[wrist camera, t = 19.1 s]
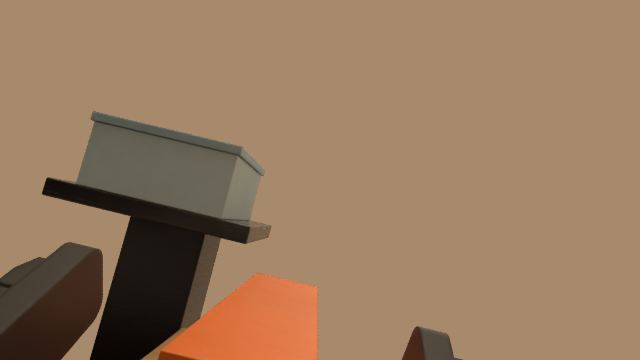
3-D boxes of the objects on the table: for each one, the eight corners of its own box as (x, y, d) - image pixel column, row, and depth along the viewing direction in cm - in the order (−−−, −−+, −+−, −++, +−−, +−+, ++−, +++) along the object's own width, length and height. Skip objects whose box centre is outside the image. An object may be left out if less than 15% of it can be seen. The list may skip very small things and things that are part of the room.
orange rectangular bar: (125, 480, 11) (160, 349, 12) (244, 321, 30) (257, 272, 31) (287, 522, 11) (318, 388, 12) (306, 336, 30) (317, 287, 31)
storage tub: (70, 182, 28) (92, 110, 29) (145, 195, 40) (160, 145, 41) (223, 220, 28) (242, 146, 28) (252, 221, 40) (265, 170, 41)
